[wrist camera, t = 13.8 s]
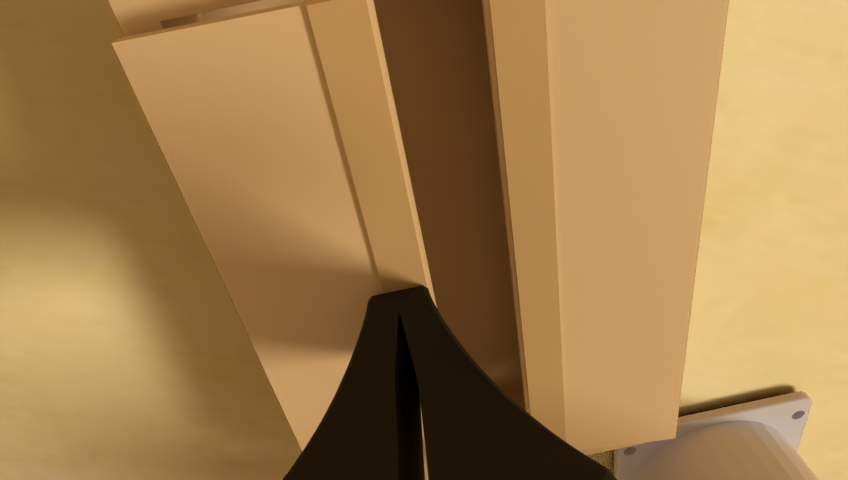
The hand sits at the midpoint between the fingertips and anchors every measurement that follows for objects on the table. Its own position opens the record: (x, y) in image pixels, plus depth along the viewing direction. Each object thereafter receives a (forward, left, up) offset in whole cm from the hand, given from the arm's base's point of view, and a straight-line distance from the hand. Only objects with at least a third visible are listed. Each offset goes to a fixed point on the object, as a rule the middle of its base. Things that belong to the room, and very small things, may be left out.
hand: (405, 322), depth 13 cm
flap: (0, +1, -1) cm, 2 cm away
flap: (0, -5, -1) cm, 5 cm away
